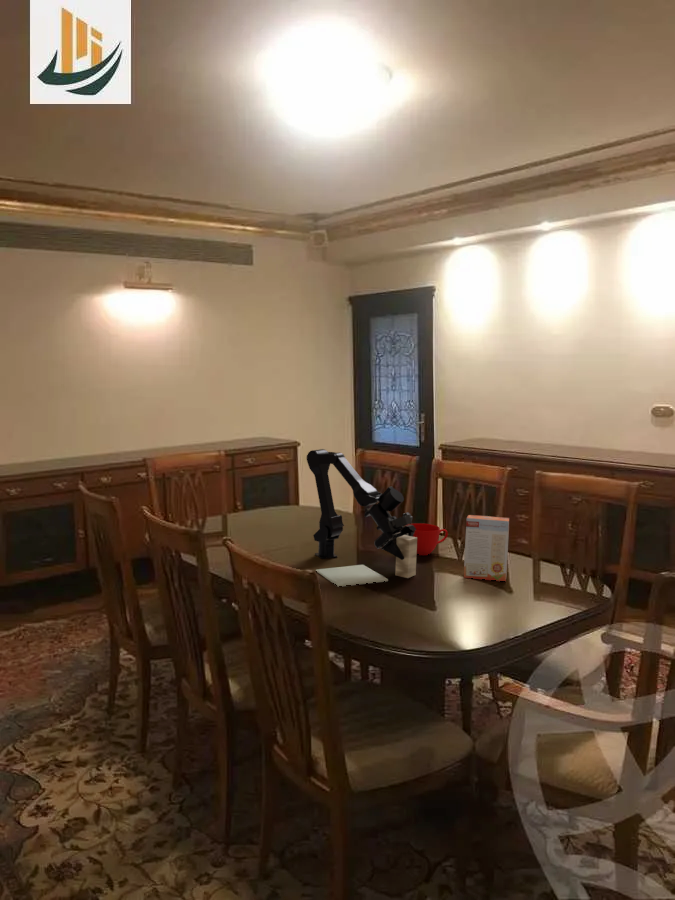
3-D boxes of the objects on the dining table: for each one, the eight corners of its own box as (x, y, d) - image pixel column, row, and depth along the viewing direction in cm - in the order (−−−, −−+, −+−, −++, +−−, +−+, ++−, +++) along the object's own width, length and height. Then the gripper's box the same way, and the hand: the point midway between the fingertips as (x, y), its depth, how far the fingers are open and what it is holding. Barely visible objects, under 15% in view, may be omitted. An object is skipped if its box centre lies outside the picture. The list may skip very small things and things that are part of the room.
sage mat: (315, 571, 248) (315, 569, 247) (362, 566, 255) (363, 564, 255) (338, 586, 231) (338, 585, 231) (387, 581, 239) (388, 579, 239)
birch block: (395, 575, 246) (396, 537, 244) (403, 571, 250) (404, 535, 248) (407, 578, 243) (409, 540, 241) (415, 574, 247) (417, 537, 245)
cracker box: (506, 577, 247) (510, 517, 244) (505, 582, 241) (509, 521, 238) (464, 573, 251) (468, 513, 248) (463, 578, 245) (466, 517, 242)
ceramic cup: (453, 556, 272) (455, 530, 270) (411, 558, 267) (413, 532, 266) (439, 547, 284) (440, 522, 283) (399, 549, 279) (400, 523, 278)
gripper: (383, 509, 238) (410, 548, 233) (412, 501, 253) (439, 538, 248) (362, 529, 244) (389, 567, 239) (392, 520, 259) (418, 556, 254)
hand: (409, 556), depth 245 cm, fingers open, 8 cm apart
